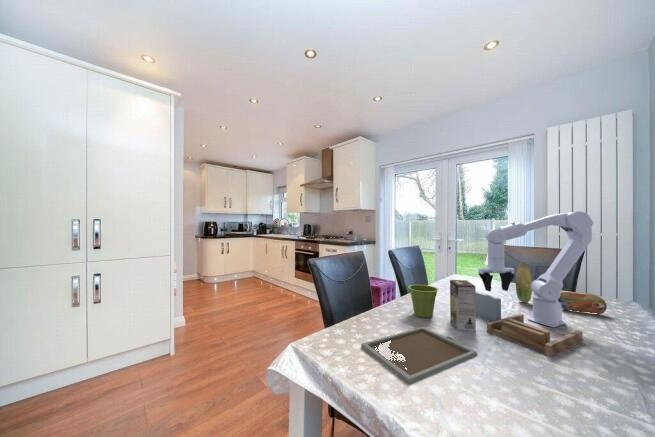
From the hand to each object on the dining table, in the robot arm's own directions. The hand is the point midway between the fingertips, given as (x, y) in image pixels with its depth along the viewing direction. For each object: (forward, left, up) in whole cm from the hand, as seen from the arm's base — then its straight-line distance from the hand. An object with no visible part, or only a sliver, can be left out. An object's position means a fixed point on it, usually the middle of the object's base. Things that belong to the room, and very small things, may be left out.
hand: (496, 290), depth 98 cm
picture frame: (+50, +6, -11) cm, 52 cm away
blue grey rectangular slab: (+5, -2, -10) cm, 12 cm away
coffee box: (+22, 0, -11) cm, 24 cm away
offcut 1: (+15, +16, -11) cm, 25 cm away
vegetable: (-30, -4, -11) cm, 32 cm away
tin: (-38, +13, -11) cm, 42 cm away
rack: (+9, +16, -10) cm, 21 cm away
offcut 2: (+12, +16, -11) cm, 23 cm away
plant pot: (+27, -14, -11) cm, 32 cm away
